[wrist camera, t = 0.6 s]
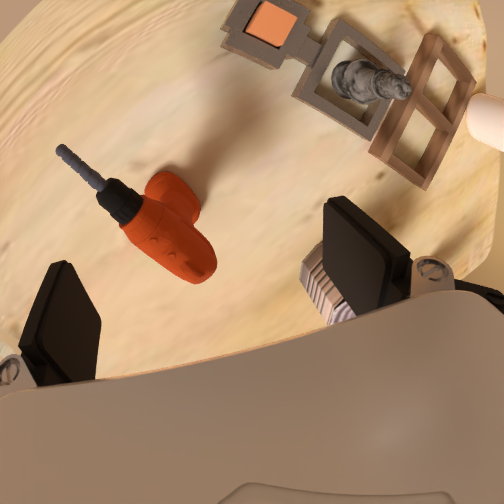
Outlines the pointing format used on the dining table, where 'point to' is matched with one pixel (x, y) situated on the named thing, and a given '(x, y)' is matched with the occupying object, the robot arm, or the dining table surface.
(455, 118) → the walnut rack
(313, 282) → the can
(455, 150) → the dining table surface
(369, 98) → the chess piece
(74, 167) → the toy drill
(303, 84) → the grey flat frame piece
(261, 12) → the button
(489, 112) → the wine bottle
